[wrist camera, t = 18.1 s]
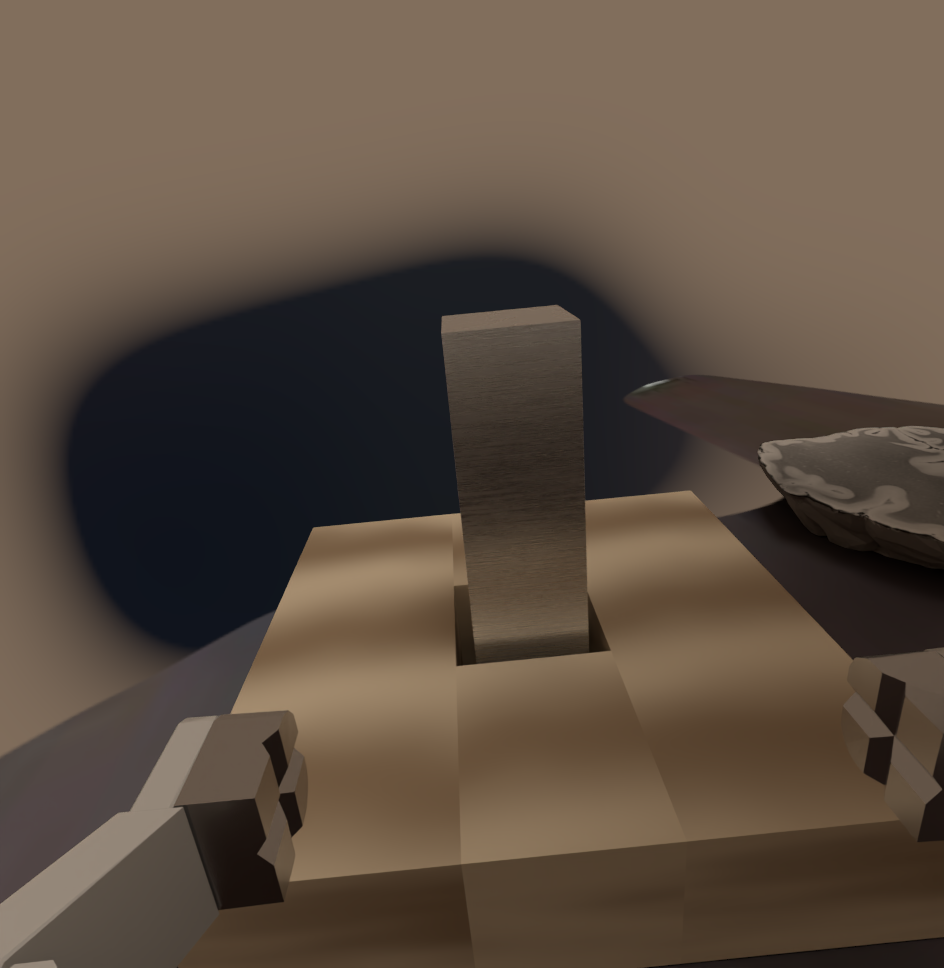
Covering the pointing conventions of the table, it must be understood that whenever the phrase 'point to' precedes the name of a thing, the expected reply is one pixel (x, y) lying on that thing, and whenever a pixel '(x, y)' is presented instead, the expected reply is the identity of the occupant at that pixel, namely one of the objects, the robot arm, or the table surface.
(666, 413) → the table surface
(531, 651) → the square bit
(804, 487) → the brain slice
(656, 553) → the socket block
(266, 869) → the robot arm
